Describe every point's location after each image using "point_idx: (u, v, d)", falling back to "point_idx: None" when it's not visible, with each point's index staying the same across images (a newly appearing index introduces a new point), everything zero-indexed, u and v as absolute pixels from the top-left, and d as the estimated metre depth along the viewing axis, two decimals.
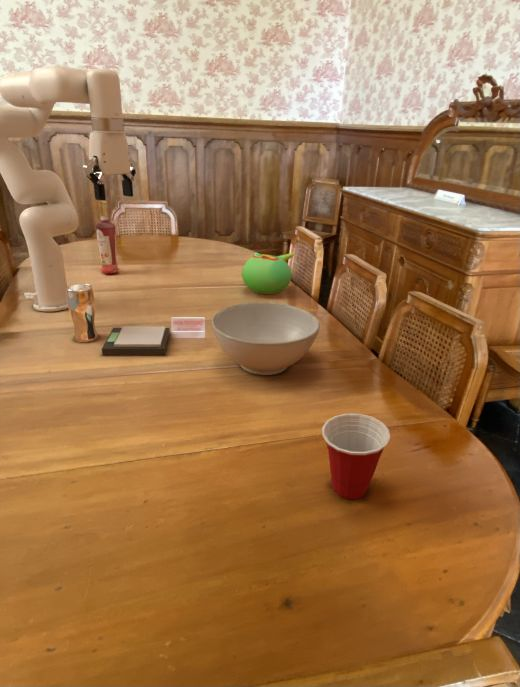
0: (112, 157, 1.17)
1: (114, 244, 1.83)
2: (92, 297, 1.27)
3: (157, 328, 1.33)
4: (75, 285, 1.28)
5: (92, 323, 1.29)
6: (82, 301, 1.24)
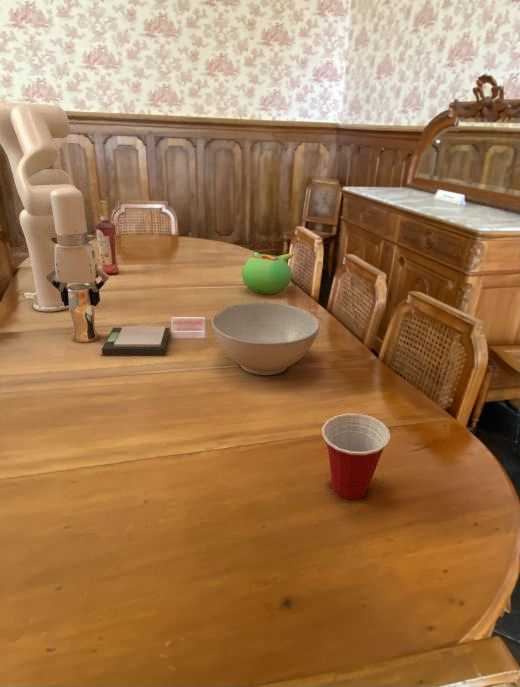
0: (66, 268, 1.21)
1: (114, 244, 1.83)
2: None
3: (157, 328, 1.33)
4: (75, 285, 1.28)
5: (92, 323, 1.29)
6: (82, 301, 1.24)
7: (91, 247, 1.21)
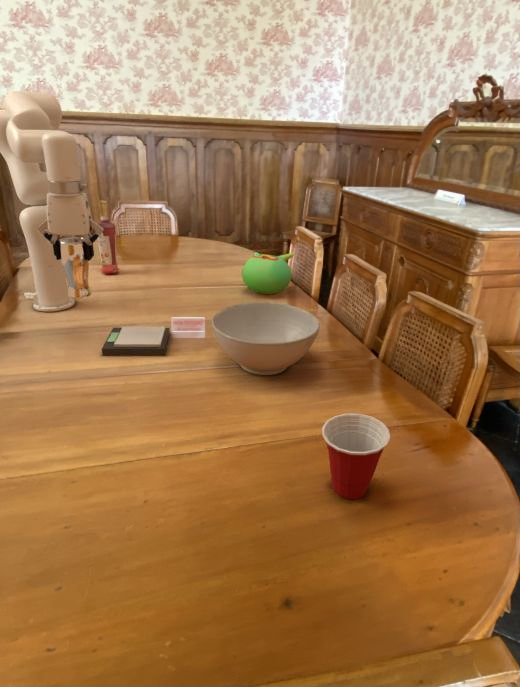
0: (59, 218, 1.16)
1: (114, 244, 1.83)
2: None
3: (157, 328, 1.33)
4: (68, 239, 1.23)
5: (86, 279, 1.24)
6: (75, 254, 1.19)
7: (85, 197, 1.16)
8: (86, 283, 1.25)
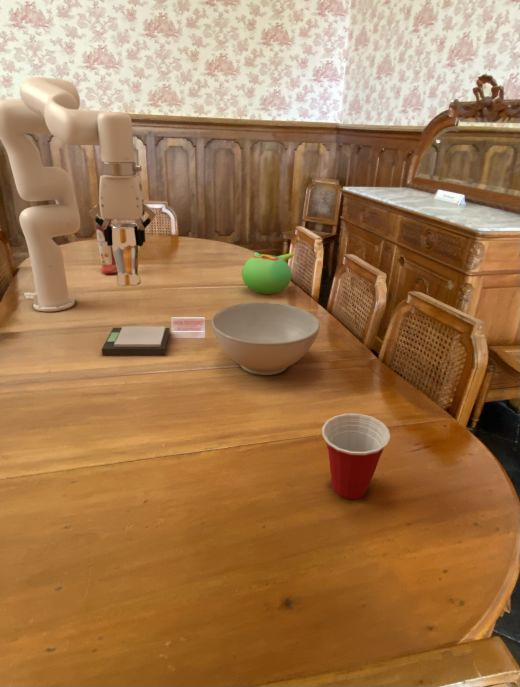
0: (112, 201, 1.12)
1: None
2: (137, 236, 1.17)
3: (157, 328, 1.33)
4: (119, 224, 1.19)
5: (136, 266, 1.20)
6: (127, 239, 1.15)
7: (138, 179, 1.12)
8: (136, 270, 1.20)
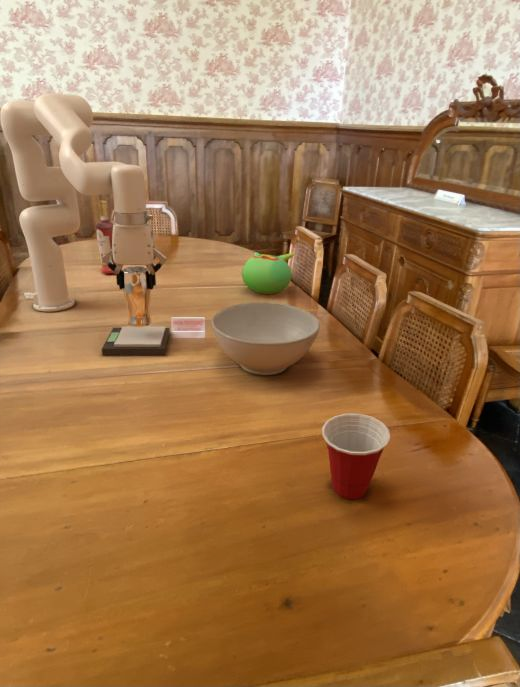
0: (124, 249, 1.16)
1: None
2: (148, 280, 1.21)
3: (157, 328, 1.33)
4: (130, 268, 1.23)
5: (147, 307, 1.24)
6: (139, 284, 1.19)
7: (150, 227, 1.16)
8: (147, 311, 1.25)
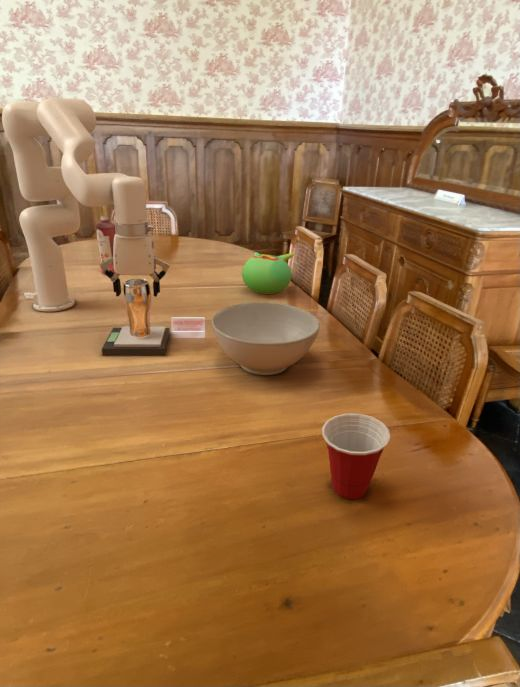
0: (125, 259, 1.17)
1: None
2: (149, 292, 1.23)
3: (157, 328, 1.33)
4: (131, 280, 1.24)
5: (148, 319, 1.26)
6: (140, 296, 1.21)
7: (151, 238, 1.18)
8: (148, 323, 1.26)
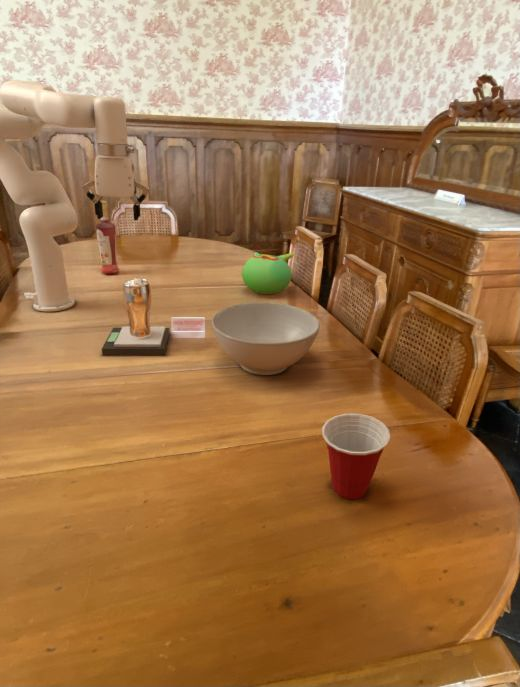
0: (106, 180, 1.21)
1: (114, 244, 1.83)
2: (149, 292, 1.23)
3: (157, 328, 1.33)
4: (131, 280, 1.24)
5: (148, 319, 1.26)
6: (140, 296, 1.21)
7: (131, 160, 1.22)
8: (148, 323, 1.26)
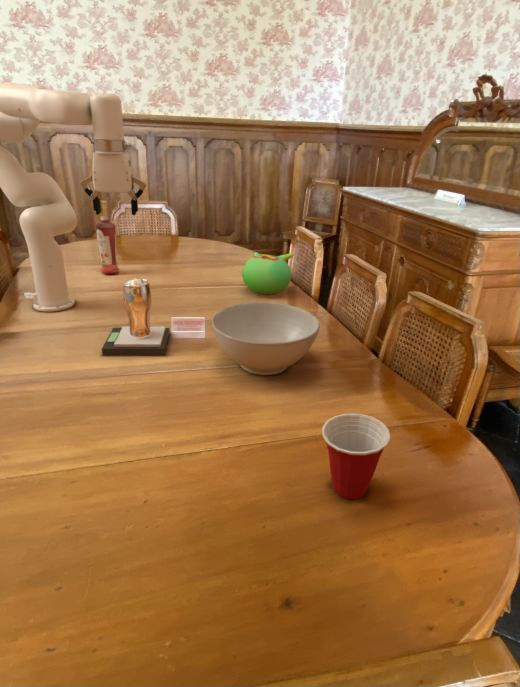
0: (104, 176, 1.23)
1: (114, 244, 1.83)
2: (149, 292, 1.23)
3: (157, 328, 1.33)
4: (131, 280, 1.24)
5: (148, 319, 1.26)
6: (140, 296, 1.21)
7: (128, 156, 1.24)
8: (148, 323, 1.26)
